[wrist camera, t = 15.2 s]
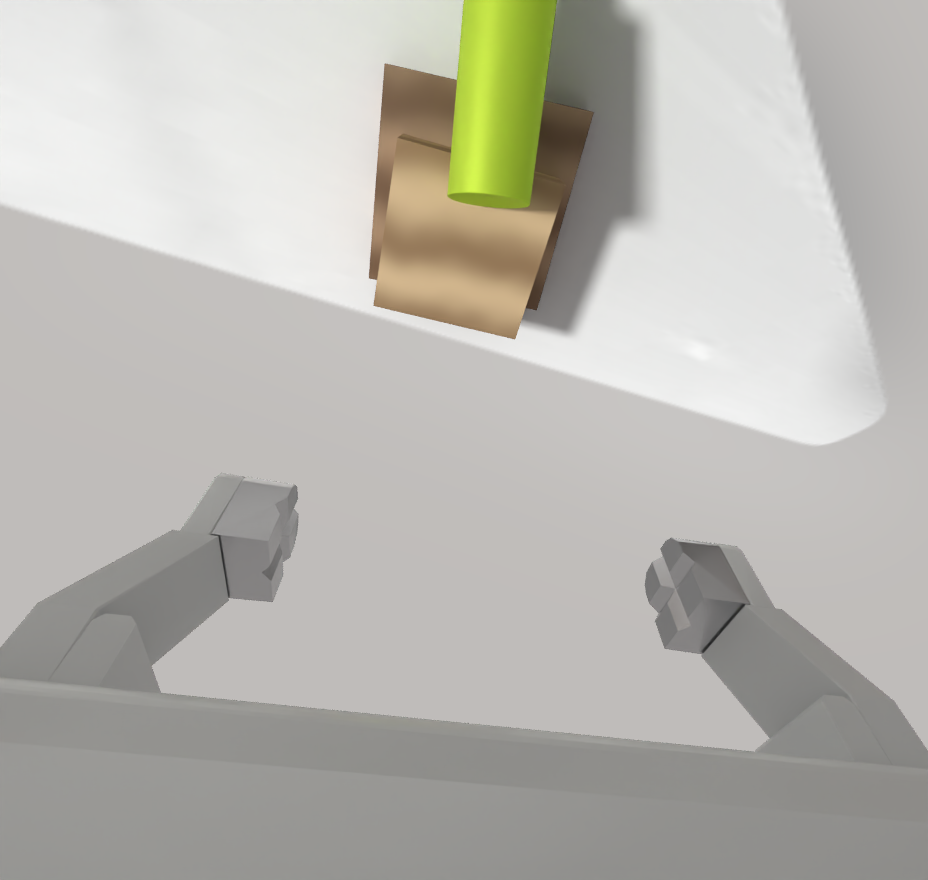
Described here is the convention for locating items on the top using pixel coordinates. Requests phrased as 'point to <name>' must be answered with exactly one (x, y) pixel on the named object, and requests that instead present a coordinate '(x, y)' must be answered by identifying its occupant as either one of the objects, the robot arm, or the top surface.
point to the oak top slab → (459, 245)
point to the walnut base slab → (431, 118)
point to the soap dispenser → (499, 100)
